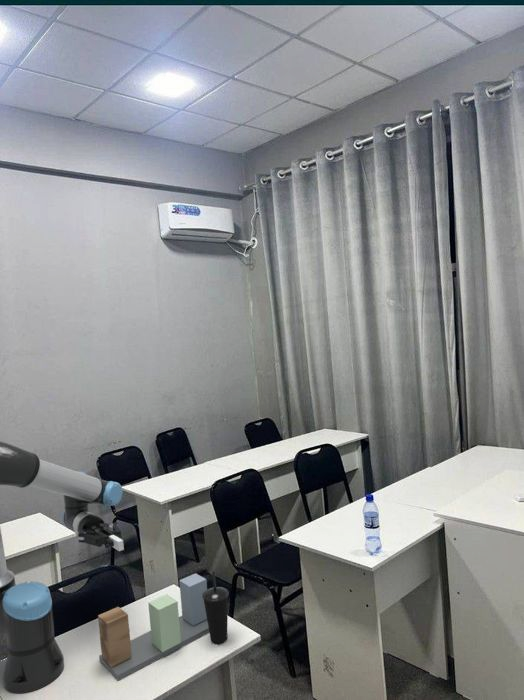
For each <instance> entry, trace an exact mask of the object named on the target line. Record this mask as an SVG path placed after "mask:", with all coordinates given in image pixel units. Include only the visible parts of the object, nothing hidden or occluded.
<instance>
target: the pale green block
mask: <svg viewBox="0 0 524 700" xmlns="http://www.w3.org/2000/svg"><path fill="white" fill-rule="evenodd" d="M148 612H149V613H148V614H149V625H150V627H149V628H150V631H151V638H152V644H153V645H154V646H156V647H157V648H158V649H159V650H160V651H162V652H164V651H166V650H168V649H170V648H171V647H173V646H175V645H177V644H179V643H181V636H180V625H179V617H180V616H179V615H180V614H179V602H178V600H176V599H175V598H173V597H172V596H171V595H168V594H167V593H166V594H163V595H162V596H160V597H157V598H155V599H152V600H150V601H148Z"/></svg>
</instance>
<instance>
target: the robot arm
mask: <svg viewBox="0 0 524 700" xmlns="http://www.w3.org/2000/svg"><path fill="white" fill-rule="evenodd" d="M0 486H11V487H16V488H19V489H20V488H21V489H24V488H27V487H31V488H36V489H40V490H43V491H46V492H47V491H48V492H51V493H53V494H54V493H55V494H60V495H63V501H64V510H63V512H62V515H61V521H62V524H63V525H64V526H65V527H66V528H67V529H68V530H71V532H74V533H75V534H77V538H78V539H77V540H78V543H83V544H88V545H92V546H95V547H96V548H101V547H103V545H104V548H105V549H109V548H111V547H112V548H113V549H115V550H117V551H118V552H121V551H124V550H125V548H124V545H125V544H124V539H122V538H123V537H122V531H121V529H120V528H119V526H118V522H117V521H114V522H113V523H111V525H110V523H105V521H104V520H103V519H102V518H101V517H99V516H98V515H96V514H95V513H92V511H91V512H90V507H89V504H91V505H92V504H93V505H100V506H106V507H108V506H109V507H111V506H112V507H115V506H116V505H118V504H119V503H120V502H121V500H122V496H123V492H124V491H123V488H122V487H123V486H122V485H121V484H120V483H119V482H117V481H113V480H109V481H108V480H105V479H101V478H97V477H96V476H91V475H89V474H86V472H84V471H76V470H73V469H70V468H67V467H65V466H61V465H58V464H56V463H52V462H48V461H46V460H43V459H40V456H39V455H38V454H36V453H35V452H31V451H28V450H25V449H23V448H20V447H17V446H16V445H13V444H10V443H7V442H3V441H0ZM2 536H3V535H2V528H1V527H0V635H4V636H6V644H7V653H8V654H7V658H6V662H5V667H4V669H3V677H2V678H3V686H4V688H5V689H6V691H8V692H10V693H16V694H24V693H29V692H33V691H36V690H39V689H41V688H43V687H46V686H48V685H49V684H51V683H52V682H53V681H55V680H56V679H57V678H58V677H59V676H61V674H62V672H63V670H64V669H65V659H64V654H63V652H62V650H61V649H60V646H59V644H58V643H57V641H56V638H55V625H54V614H53V600H52V599H53V598H52V596H51V595H52V594H51V592H50V589H49V587H48V586H47V585H46V584H44V583H41V582H38V581H30V582H27V581H26V582H21V583H18V584H16V579H15V574H14V572H13V571H12V570H9V569H8V567H7V559H6V555H5V548H4V541H3V537H2Z"/></svg>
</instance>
